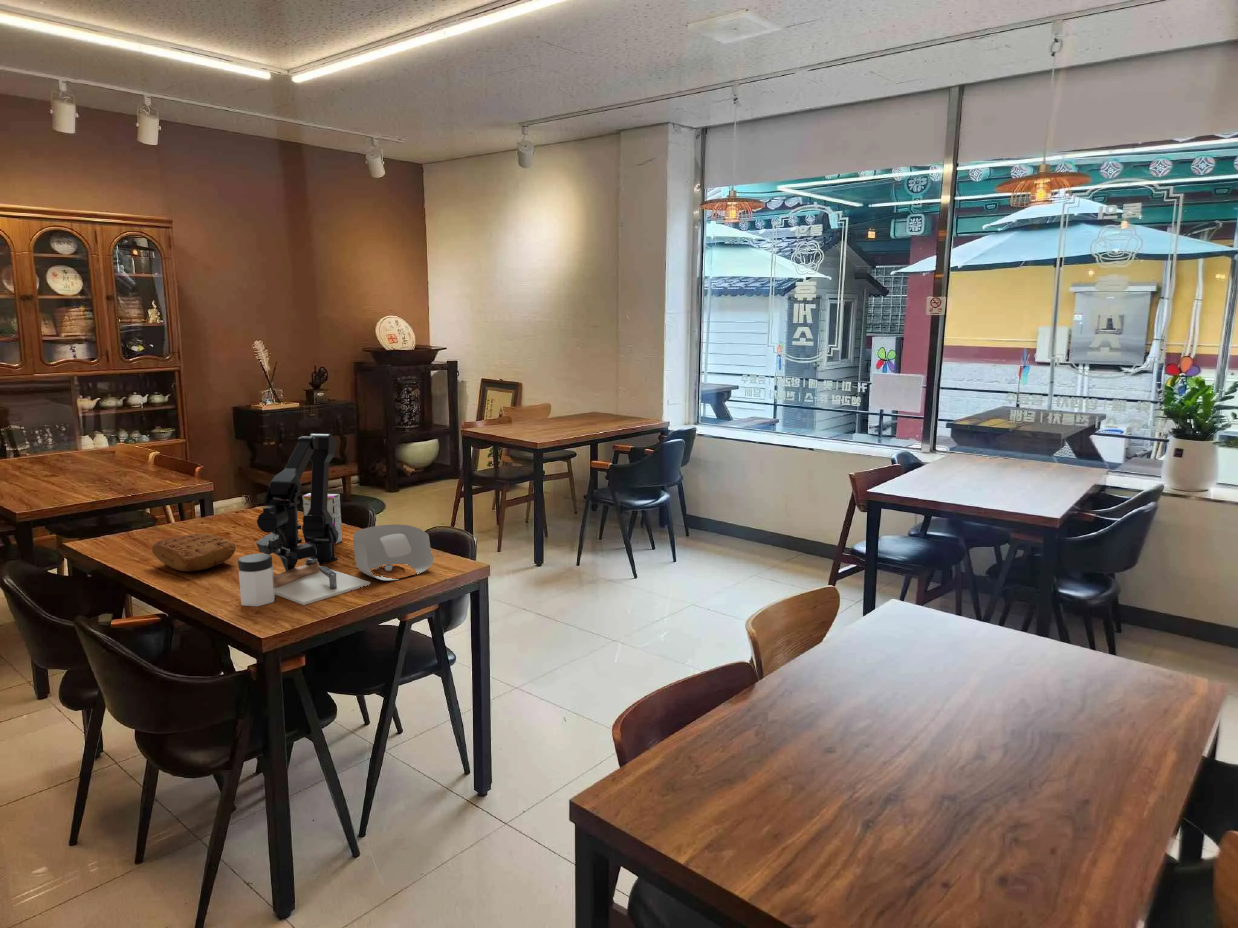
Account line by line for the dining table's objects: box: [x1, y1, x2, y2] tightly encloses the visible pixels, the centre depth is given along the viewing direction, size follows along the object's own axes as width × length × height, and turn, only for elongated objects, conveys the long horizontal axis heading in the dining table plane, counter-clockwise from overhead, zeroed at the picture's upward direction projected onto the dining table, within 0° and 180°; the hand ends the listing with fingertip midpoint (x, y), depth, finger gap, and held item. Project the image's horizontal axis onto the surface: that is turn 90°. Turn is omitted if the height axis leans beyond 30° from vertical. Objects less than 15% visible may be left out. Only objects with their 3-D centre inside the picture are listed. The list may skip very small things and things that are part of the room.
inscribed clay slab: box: [151, 532, 236, 572], centre depth 239 cm, size 22×17×8 cm
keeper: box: [305, 557, 337, 590], centre depth 224 cm, size 3×21×4 cm, turn 40°
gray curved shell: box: [353, 524, 434, 581], centre depth 234 cm, size 20×19×12 cm
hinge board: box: [274, 565, 371, 606], centre depth 222 cm, size 21×26×1 cm
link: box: [273, 562, 320, 587], centre depth 225 cm, size 17×4×2 cm, turn 159°
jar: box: [237, 553, 276, 607], centre depth 208 cm, size 9×8×12 cm
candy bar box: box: [301, 492, 343, 545], centre depth 264 cm, size 11×5×16 cm, turn 84°
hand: (289, 574), depth 226 cm, fingers closed
